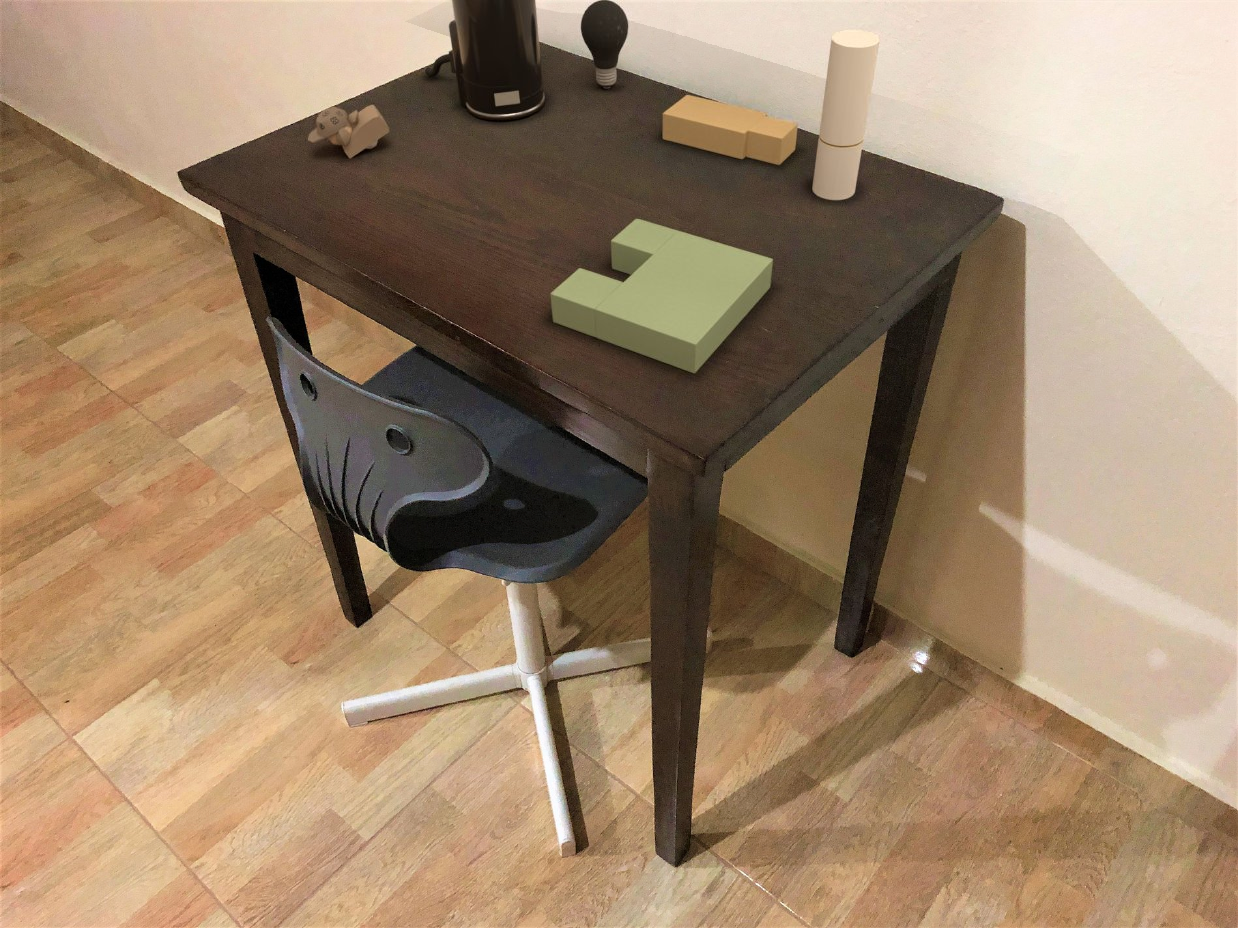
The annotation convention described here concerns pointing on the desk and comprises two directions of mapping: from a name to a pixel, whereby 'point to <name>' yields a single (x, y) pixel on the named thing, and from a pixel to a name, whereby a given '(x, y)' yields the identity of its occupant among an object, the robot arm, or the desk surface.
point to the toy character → (350, 129)
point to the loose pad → (729, 130)
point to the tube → (844, 112)
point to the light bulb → (604, 37)
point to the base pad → (665, 294)
